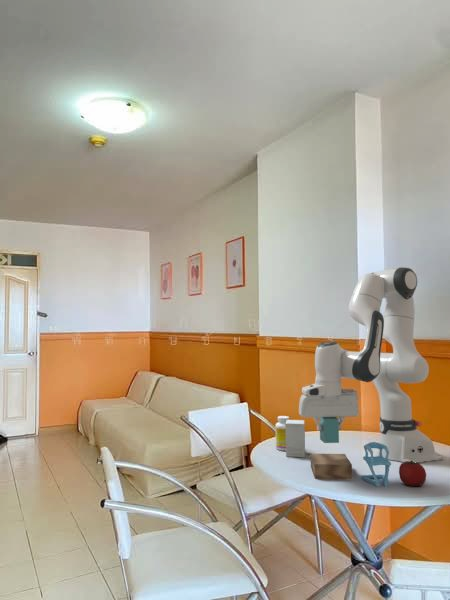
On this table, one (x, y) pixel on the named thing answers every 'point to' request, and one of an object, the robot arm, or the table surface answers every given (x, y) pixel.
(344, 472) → the walnut block
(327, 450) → the table surface
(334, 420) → the spice tin
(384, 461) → the chair
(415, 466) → the tomato
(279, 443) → the supplement bottle
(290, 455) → the supplement box
